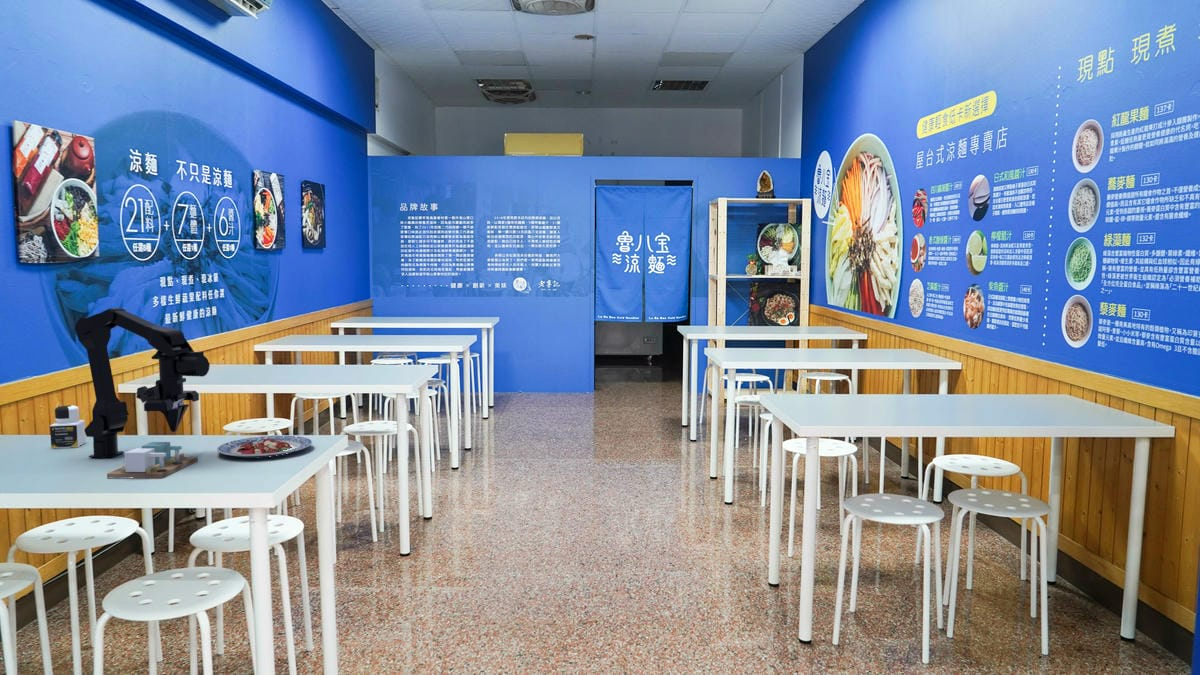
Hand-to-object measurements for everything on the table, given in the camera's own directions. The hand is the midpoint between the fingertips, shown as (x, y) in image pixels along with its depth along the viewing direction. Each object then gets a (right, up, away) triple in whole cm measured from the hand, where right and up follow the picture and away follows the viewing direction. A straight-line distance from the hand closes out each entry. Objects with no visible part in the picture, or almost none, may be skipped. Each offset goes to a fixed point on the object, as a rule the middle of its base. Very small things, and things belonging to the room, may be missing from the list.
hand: (173, 431), depth 236 cm
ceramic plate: (+21, -8, +12) cm, 25 cm away
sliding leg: (+2, -7, -8) cm, 11 cm away
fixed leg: (+1, -8, -16) cm, 18 cm away
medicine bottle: (-41, -7, +19) cm, 46 cm away
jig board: (0, -9, -10) cm, 13 cm away
